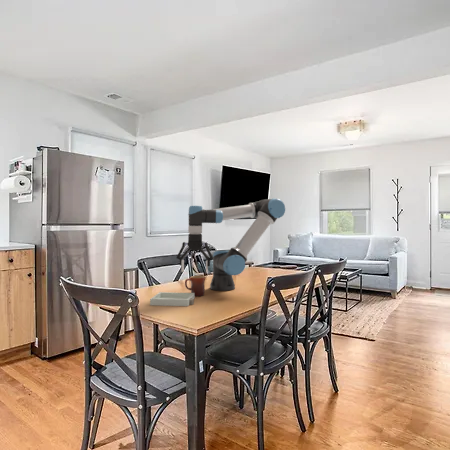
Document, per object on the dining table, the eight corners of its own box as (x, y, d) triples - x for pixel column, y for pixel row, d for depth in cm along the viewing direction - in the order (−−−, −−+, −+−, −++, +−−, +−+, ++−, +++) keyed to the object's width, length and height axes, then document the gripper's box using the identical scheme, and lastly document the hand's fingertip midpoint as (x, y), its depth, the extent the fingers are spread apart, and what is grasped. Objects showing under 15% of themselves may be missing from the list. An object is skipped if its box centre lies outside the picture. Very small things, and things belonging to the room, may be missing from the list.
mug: (201, 293, 204) (201, 275, 204) (208, 296, 196) (208, 277, 196) (182, 295, 199) (182, 276, 198) (187, 298, 191) (188, 279, 191)
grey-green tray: (197, 298, 190) (197, 293, 190) (191, 306, 173) (191, 300, 173) (159, 297, 192) (159, 292, 192) (150, 305, 175) (150, 299, 175)
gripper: (218, 233, 200) (217, 271, 200) (174, 233, 202) (174, 270, 202) (216, 234, 192) (216, 273, 192) (171, 233, 194) (171, 272, 195)
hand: (194, 272), depth 197 cm, fingers open, 13 cm apart
